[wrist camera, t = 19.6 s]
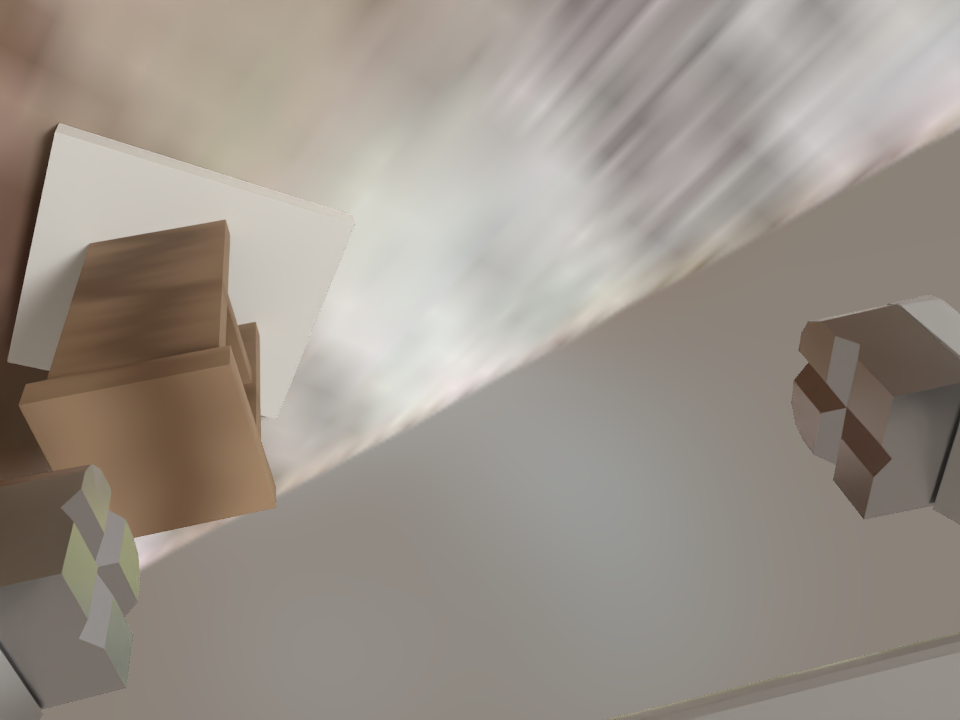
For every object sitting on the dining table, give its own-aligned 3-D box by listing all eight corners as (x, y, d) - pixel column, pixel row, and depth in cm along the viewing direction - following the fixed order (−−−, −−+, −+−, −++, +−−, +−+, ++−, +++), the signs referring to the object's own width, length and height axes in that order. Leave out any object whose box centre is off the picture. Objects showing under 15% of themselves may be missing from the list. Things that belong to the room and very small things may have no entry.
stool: (127, 365, 43) (91, 546, 34) (75, 239, 39) (18, 405, 30) (271, 338, 44) (276, 507, 34) (235, 211, 40) (229, 364, 30)
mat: (11, 350, 43) (7, 362, 42) (59, 122, 37) (55, 131, 36) (276, 407, 48) (276, 418, 47) (352, 214, 42) (354, 224, 41)
